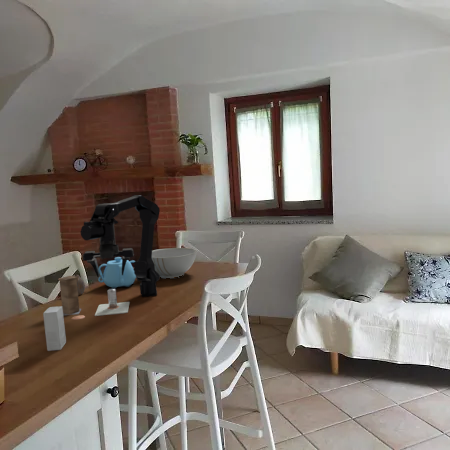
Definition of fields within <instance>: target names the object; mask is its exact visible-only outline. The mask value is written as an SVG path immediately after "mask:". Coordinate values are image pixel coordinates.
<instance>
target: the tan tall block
mask: <svg viewBox="0 0 450 450" xmlns="http://www.w3.org/2000/svg"><path fill="white" fill-rule="evenodd" d="M77 279H78V278H77V277H74V276H73V275H67V276H62V277H60V278H58V281H59V288H60V289H59V290H60V299H61V306H62V308H63V313H65V314H69V315H68V316H71V315H70V314H73V313H76V312H79V311H80V310H79V309H80V302H79V301H80V300H79V295H78V289H77ZM80 312H81V311H80Z"/></svg>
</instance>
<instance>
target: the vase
mask: <svg viewBox="0 0 450 450" xmlns="http://www.w3.org/2000/svg"><path fill="white" fill-rule="evenodd" d="M72 276H74V277H77V278H78V279H77V289H78V296H81V295H82V294H83V293H84V292H85V291H86V290H85V288H86V284H85V281H84V280H83V279H82V277H81V276H80V275H79V274H73V275H72Z"/></svg>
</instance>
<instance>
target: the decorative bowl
mask: <svg viewBox="0 0 450 450" xmlns="http://www.w3.org/2000/svg"><path fill="white" fill-rule="evenodd" d="M197 251H198V250H197V249H195V248H189V247H172V248H171V247H170V248H160V249H154V250H153V249H152V260H153V262H154V264H155V271H156V272H157V273H158V274H159V275H160V277H161V279H166V278H170V279H175V278H174V277H178V278H180V277H179V276H182V275H183V276H184V275H185V273H187V272H188V271H189V270H190V268H191V267H192V266H193V264H194V262H195V261H196V257H197ZM183 276H182V277H183Z"/></svg>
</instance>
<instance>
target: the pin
mask: <svg viewBox="0 0 450 450" xmlns="http://www.w3.org/2000/svg"><path fill="white" fill-rule="evenodd" d="M106 292H107V299H108V304H109V308H117V303H118V299H117V297H118V296H117V288H114V289H112V288H109V289H107V291H106Z"/></svg>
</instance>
